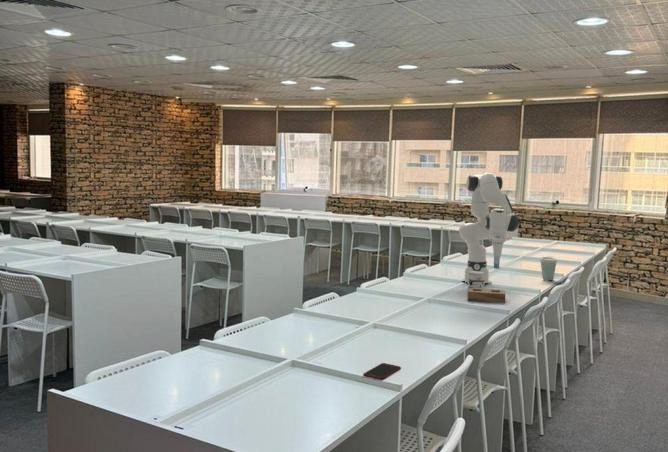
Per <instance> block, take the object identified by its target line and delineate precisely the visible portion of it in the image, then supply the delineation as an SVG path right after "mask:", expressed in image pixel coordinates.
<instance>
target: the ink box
mask: <svg viewBox="0 0 668 452" xmlns="http://www.w3.org/2000/svg"><path fill="white" fill-rule="evenodd" d="M468 288H482V289H485V284H484V272H478V271H470V272H469V278H468V283H467V289H468Z"/></svg>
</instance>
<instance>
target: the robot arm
mask: <svg viewBox="0 0 668 452" xmlns="http://www.w3.org/2000/svg"><path fill="white" fill-rule="evenodd" d="M465 181H466V183H465V184H466V188H467V191H470V192H472V194H471V202H470V203H471V204H470V213H471V215H472V216H473V217H475V218H476V220H477V222H467V223H466V222H465V223H463V224H461V225H460V226H459V228H458V234H459V236H460V238H461V239H462V240H463V241H464V242H465V244H466V246H467V250H468V251H467V252H468V254H467V255H468V260H467V262H466V263H467V267H466V268H465V270H464V278H462V279H461V282H462V281H466V282H467V283H466V282H465V283H466V284H468V278H469V272H470V271H478V272H484V285H486V284H485V283H488V284H492V281H491V280H490V276H489V273H490V272H489V269H488V268H487V267H488V266H487V265H488V263H487V248H485V246H483V245H482V244H480V240H481V241H482V240H489V242H491V245H492V250H493V258H494V257H495V263H496V264H498V263H499V264H500V262H499V257H501V256H502V252H503V245H504V243H505V242H506V241H507V232H512V233H513V232H514V231H516V230H517V229H518V228H519V217H518V216H517V214H516V213H515V211H514V209H513V205H512V203H511V202H510V199H509V197H508V196H507V194H506V193H504V192H503V191H502V189H503V184H504V182H503V181H504V180H503V178H502V177H501V176H500V175H497V174H494V173H491V172H485V173H483V174H470V175H469V176H468V177H467V179H466V180H465ZM490 204H492V205H496V206H499V207H501V208H498V207H497V208H492V209H491V211H490ZM489 211H490V212H489Z"/></svg>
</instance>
